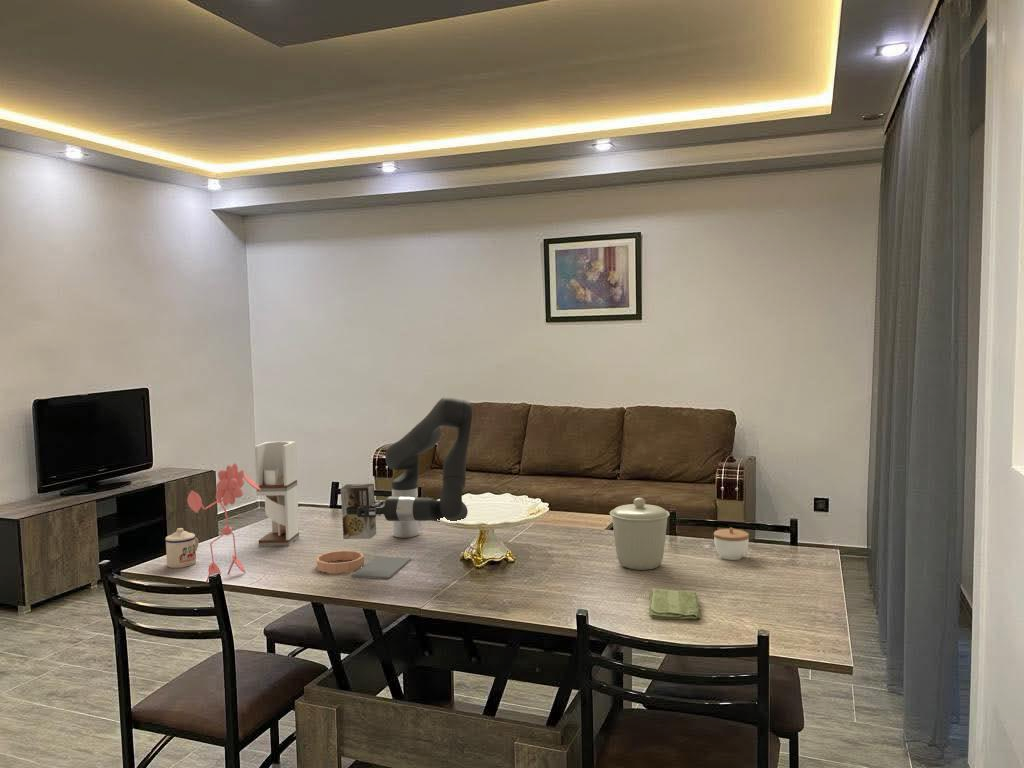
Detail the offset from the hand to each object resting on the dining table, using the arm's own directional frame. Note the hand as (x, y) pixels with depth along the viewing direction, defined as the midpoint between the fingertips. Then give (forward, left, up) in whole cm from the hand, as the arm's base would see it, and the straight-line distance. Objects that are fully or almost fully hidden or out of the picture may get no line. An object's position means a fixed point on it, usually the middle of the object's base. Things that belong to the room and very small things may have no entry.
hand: (352, 507), depth 241 cm
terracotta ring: (0, -5, -19) cm, 19 cm away
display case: (-25, -39, -19) cm, 50 cm away
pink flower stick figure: (+18, -30, -19) cm, 40 cm away
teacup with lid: (+4, -57, -19) cm, 60 cm away
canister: (-14, +88, -19) cm, 91 cm away
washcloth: (+23, +98, -19) cm, 103 cm away
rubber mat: (0, +9, -19) cm, 21 cm away
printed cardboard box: (0, +2, -9) cm, 9 cm away
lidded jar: (-27, +116, -19) cm, 121 cm away
